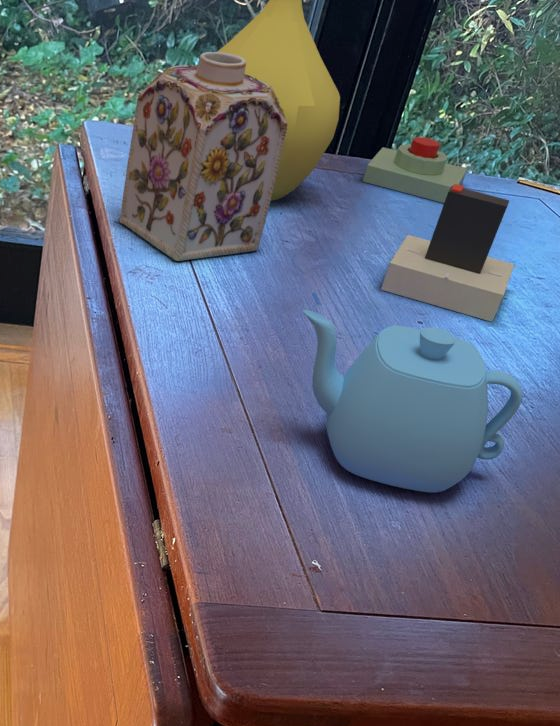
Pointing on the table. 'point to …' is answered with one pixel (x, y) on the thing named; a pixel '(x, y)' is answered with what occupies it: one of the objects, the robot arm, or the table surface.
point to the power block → (414, 173)
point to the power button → (424, 147)
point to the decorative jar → (203, 159)
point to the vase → (291, 86)
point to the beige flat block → (447, 281)
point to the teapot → (410, 406)
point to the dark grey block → (466, 228)
